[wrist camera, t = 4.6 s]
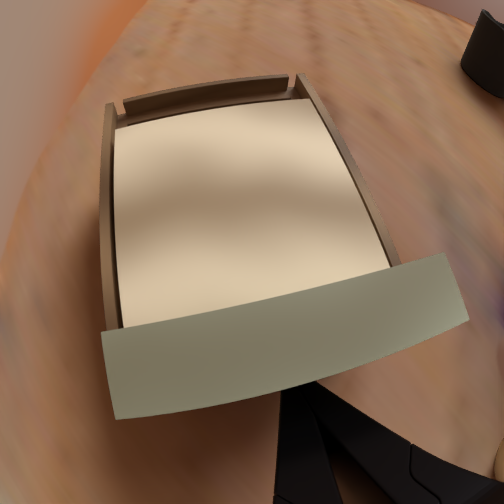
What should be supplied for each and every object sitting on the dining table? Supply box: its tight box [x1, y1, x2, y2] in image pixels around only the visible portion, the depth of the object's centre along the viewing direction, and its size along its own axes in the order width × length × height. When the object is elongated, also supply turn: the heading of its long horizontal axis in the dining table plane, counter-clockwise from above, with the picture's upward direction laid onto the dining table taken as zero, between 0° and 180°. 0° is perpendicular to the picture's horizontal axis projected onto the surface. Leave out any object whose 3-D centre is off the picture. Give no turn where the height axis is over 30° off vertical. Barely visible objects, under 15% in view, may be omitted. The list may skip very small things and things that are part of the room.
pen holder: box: [461, 9, 504, 98], centre depth 27 cm, size 9×9×10 cm
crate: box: [99, 73, 401, 331], centre depth 16 cm, size 13×11×7 cm
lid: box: [101, 99, 470, 420], centre depth 10 cm, size 12×10×5 cm
